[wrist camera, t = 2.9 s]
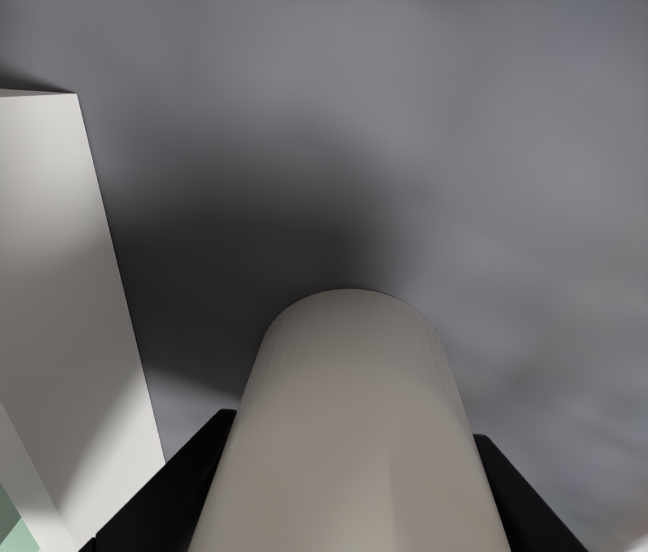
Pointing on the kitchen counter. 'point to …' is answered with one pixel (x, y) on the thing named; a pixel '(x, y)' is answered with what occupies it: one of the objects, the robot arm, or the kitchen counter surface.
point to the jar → (350, 440)
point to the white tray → (64, 334)
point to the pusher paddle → (13, 528)
